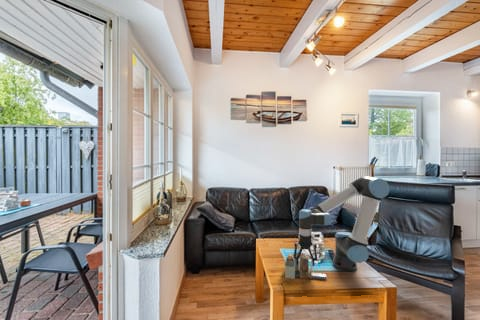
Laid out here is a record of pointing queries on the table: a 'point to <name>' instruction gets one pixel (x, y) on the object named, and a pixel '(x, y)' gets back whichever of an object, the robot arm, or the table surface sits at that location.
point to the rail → (313, 275)
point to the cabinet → (289, 268)
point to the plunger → (289, 257)
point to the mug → (300, 261)
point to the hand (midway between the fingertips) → (305, 269)
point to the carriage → (305, 268)
